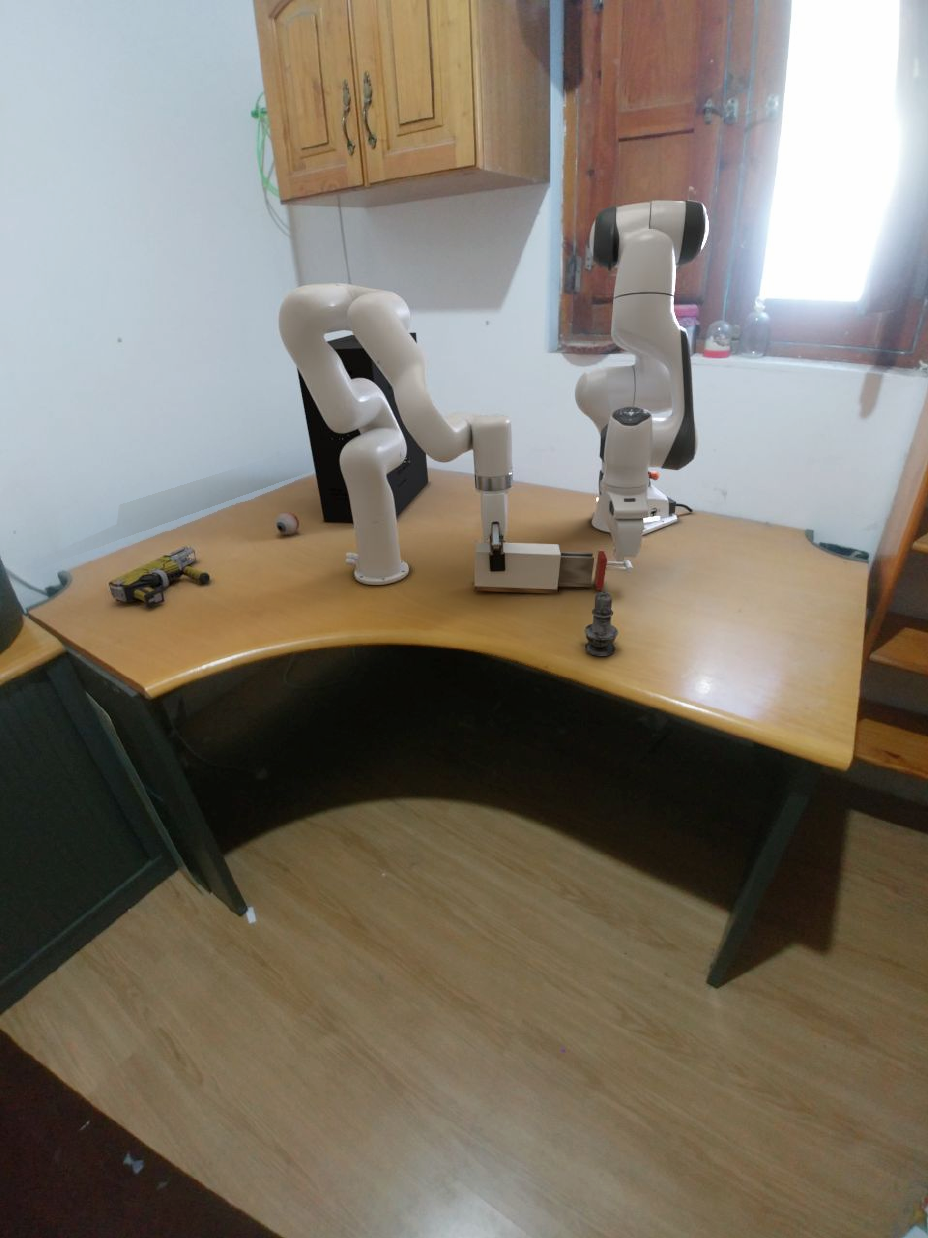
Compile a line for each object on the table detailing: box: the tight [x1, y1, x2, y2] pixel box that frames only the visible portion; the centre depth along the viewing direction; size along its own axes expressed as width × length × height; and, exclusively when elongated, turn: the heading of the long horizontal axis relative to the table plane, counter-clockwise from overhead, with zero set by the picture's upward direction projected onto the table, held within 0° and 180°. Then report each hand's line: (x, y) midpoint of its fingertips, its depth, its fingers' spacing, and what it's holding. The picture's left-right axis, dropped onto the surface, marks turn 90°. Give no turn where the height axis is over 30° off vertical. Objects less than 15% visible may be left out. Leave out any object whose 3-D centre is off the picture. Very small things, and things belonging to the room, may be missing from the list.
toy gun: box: [108, 545, 211, 609], centre depth 140 cm, size 5×24×15 cm
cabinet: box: [473, 541, 561, 595], centre depth 128 cm, size 18×6×9 cm, turn 87°
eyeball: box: [275, 511, 300, 536], centre depth 163 cm, size 6×6×6 cm
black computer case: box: [296, 332, 429, 523], centre depth 175 cm, size 38×20×45 cm, turn 167°
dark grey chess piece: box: [583, 588, 619, 657], centre depth 105 cm, size 6×6×12 cm
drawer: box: [558, 550, 634, 591], centre depth 127 cm, size 22×4×7 cm, turn 87°
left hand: (497, 563), depth 128 cm, fingers closed on cabinet, 5 cm apart
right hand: (618, 558), depth 126 cm, fingers closed
